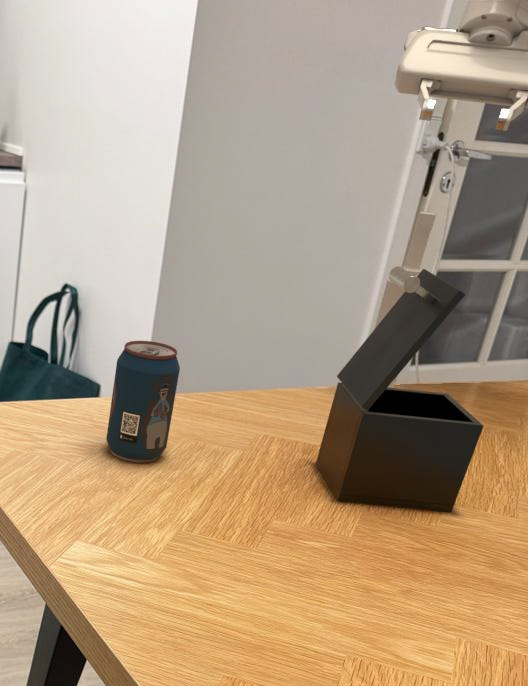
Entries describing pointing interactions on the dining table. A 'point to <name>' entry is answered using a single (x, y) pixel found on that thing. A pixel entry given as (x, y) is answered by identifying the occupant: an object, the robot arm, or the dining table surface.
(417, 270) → the white round tapered piece
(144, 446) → the soda can
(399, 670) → the dining table surface
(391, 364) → the bin lid
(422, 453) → the bin
